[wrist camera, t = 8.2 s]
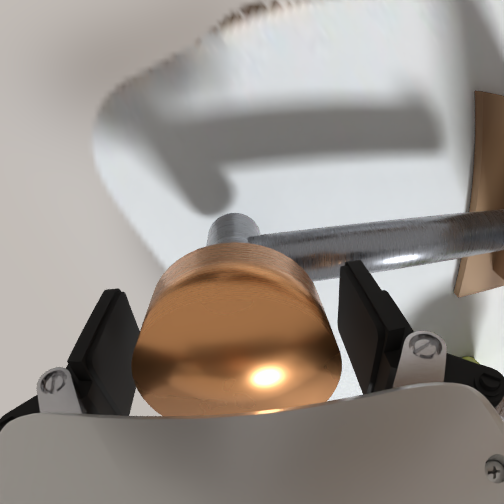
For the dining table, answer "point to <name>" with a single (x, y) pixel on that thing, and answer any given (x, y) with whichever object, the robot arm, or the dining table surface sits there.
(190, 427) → the robot arm
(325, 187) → the dining table surface
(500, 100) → the eye block
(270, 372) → the hook rod
